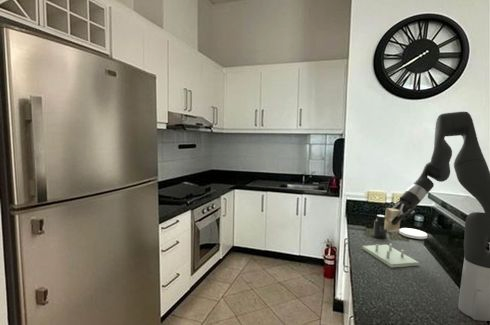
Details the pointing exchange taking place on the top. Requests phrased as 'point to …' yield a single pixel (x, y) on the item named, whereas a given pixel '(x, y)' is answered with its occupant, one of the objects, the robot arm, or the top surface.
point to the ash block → (389, 216)
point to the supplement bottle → (379, 227)
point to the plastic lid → (413, 233)
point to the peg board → (390, 255)
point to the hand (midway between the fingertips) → (388, 221)
